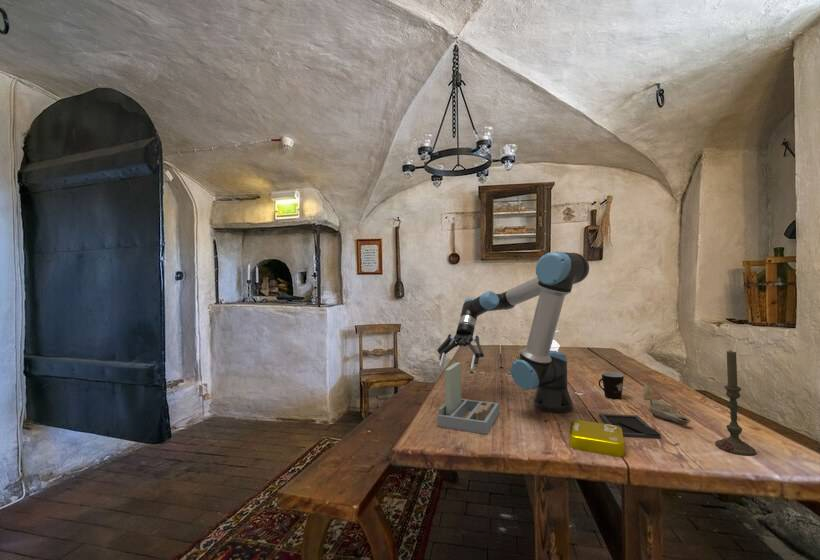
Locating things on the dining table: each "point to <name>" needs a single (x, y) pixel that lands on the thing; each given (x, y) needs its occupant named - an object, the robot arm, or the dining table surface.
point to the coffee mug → (612, 384)
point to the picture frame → (631, 426)
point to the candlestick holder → (733, 413)
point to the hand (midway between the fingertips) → (456, 369)
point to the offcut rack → (468, 417)
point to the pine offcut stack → (482, 412)
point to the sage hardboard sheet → (453, 388)
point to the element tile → (597, 438)
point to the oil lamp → (662, 407)
